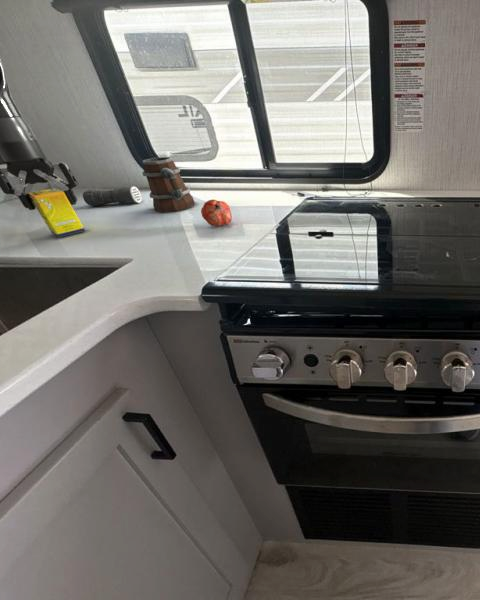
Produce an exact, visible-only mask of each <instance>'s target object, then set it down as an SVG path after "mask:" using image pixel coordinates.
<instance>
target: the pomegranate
mask: <svg viewBox="0 0 480 600" xmlns="http://www.w3.org/2000/svg"><path fill="white" fill-rule="evenodd" d="M200 214H201V217H202V218H203V219H204V221H206V223H207V224H208V225H210V226H213V227H221V226H227V225H228V224H230V223H231V221H232V219H233V216H232V211H231V208H230V205H229V204H228V203H227V202H225V201H223V200H218V199H217V200H216V199H209V200H207V201H205V202H204V204H203V206H202V207H201V210H200Z"/></svg>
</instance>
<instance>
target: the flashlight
mask: <svg viewBox="0 0 480 600" xmlns="http://www.w3.org/2000/svg"><path fill="white" fill-rule="evenodd" d="M82 199H83V201H84V203H86V205H88V206H91V207H100V206H102V205H103V206H104V205H110V204H117V203H118V204H140V203H141V202H142V201H143V199H142V194H141V192H140V190H139V188H137V187H136V186H124V187H119V188H117V187H116V188H113V189H109V190H103V189H102V190H96V189H89V190H88V189H87V190H85V191H83V193H82Z"/></svg>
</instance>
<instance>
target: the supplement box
mask: <svg viewBox="0 0 480 600" xmlns="http://www.w3.org/2000/svg"><path fill="white" fill-rule="evenodd" d="M63 191H64V190H60V189H58V188H56V187H55V188H50V189H44V190H43V189H42V190H37V191H36V190H35V191H30V192H27V193H26V194H28V195H29V197H30V199H31V200H32V202H33V203H34V205H35V207H36V210H37V211H38V213H39V215H40V216H41V218H42V219H43V221H44V223H45V225H46V227H47V229H48V230H49V231H50V233H51V234H54V235H55V236H56V237H57V238H62V237H65V236H69V235H74V234H77V233H82V232H85V228H84V226H83V224H82V222H81V220H80V218H79V217H78V215H77V213H76V211H75V210H74V208H73V205H71V204H70V202H69V200H68V199H67V197H66V195H65V193H64V192H63Z"/></svg>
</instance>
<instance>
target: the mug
mask: <svg viewBox="0 0 480 600" xmlns="http://www.w3.org/2000/svg"><path fill="white" fill-rule="evenodd" d="M142 168H143V171H142V173H141V174H142V176H143V177H146V180H147V183H148V187H149V190H150V192H149V196H148V197H149V198H150V199H152V200H153V201H152V205H153V209H154V211H155V212H158V213H159V212H160V213H173V212H174V213H175V212H179V211H184V210H188V209H190V208H192V207H195V206H196V202H195V198H194V197H193V196H192V193H191V189H190V187H189V186H187V185H186V184H185V182H184V180H183V178H182V175H181V174H180V172H181V168H180V167H179V166H177V165H176V163H175V162H174V160H173V159H172V157H170V156H169V157H168V156H161V157H152V158H147V159H143V160H142Z"/></svg>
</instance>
